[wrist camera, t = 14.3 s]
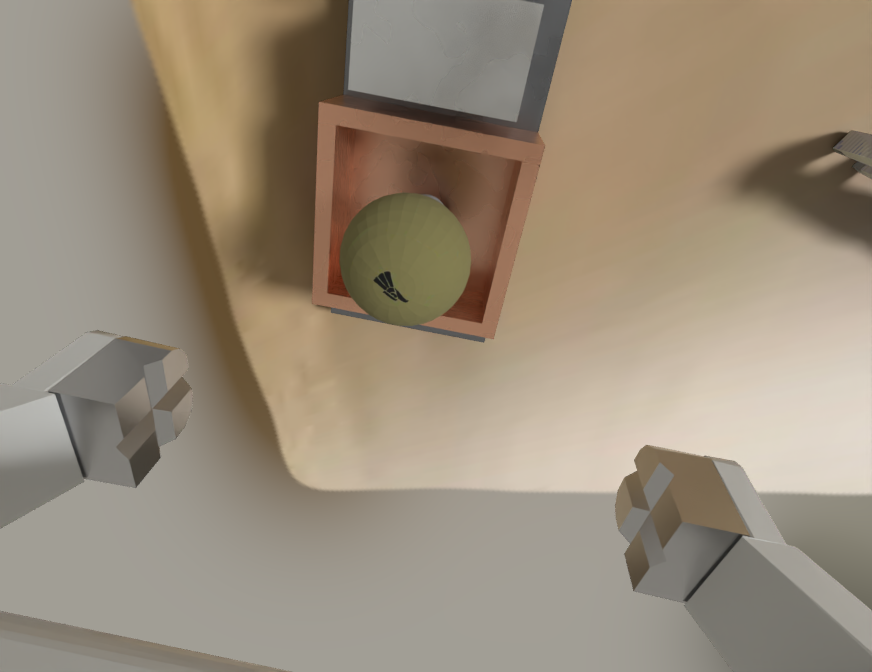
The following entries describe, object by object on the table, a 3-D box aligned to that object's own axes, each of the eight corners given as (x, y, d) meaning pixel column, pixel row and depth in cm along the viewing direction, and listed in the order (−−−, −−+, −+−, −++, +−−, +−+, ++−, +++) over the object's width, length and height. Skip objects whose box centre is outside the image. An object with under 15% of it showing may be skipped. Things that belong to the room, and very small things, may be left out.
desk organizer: (370, -211, 20) (322, -314, 14) (610, -166, 20) (655, -251, 14) (337, 301, 32) (304, 354, 27) (484, 330, 32) (482, 389, 27)
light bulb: (360, 230, 28) (300, 310, 19) (403, 139, 25) (356, 186, 16) (445, 276, 29) (424, 373, 20) (495, 194, 26) (496, 265, 17)
